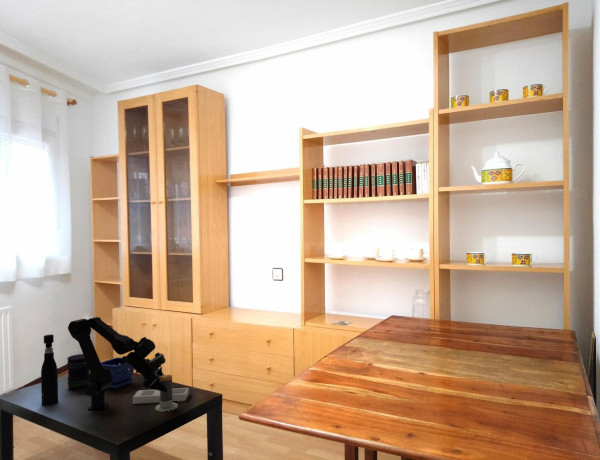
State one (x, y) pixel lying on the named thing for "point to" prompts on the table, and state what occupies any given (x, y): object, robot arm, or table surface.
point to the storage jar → (78, 373)
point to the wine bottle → (49, 374)
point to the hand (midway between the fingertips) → (167, 387)
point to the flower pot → (119, 372)
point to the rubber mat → (166, 409)
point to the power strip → (154, 395)
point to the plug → (166, 397)
